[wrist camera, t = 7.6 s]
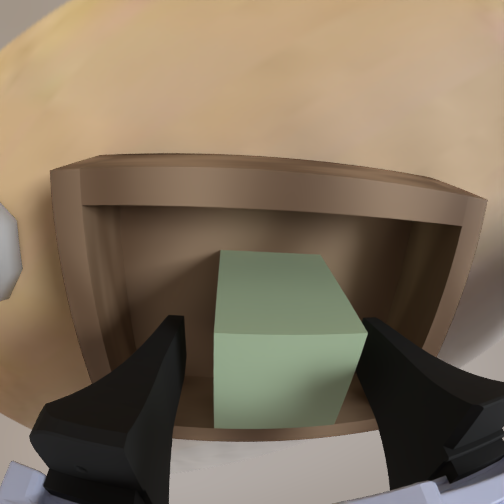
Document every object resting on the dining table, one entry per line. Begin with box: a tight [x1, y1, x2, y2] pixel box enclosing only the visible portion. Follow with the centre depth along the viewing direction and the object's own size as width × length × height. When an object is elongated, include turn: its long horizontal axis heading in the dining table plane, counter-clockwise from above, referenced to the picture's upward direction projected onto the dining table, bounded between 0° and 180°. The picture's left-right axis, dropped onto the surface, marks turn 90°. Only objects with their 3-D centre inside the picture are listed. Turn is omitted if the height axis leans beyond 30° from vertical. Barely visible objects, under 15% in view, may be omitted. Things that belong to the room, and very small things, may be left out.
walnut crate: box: [50, 153, 488, 442], centre depth 14 cm, size 16×13×4 cm
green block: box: [214, 250, 368, 429], centre depth 12 cm, size 4×4×6 cm
